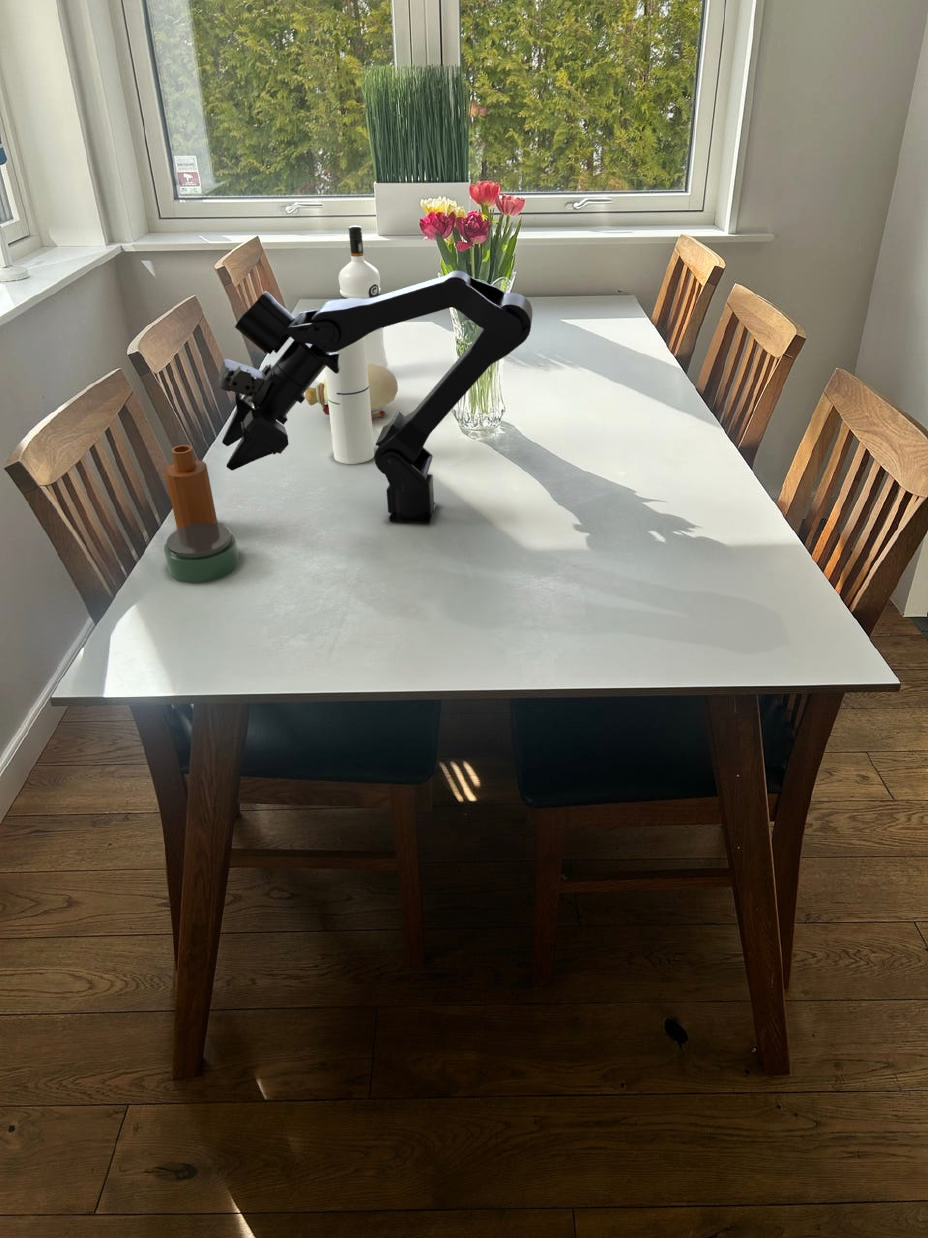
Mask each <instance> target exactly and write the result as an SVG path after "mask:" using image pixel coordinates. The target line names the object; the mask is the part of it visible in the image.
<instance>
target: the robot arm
mask: <svg viewBox="0 0 928 1238" xmlns="http://www.w3.org/2000/svg"><path fill="white" fill-rule="evenodd" d="M451 308H453V309H454V310H457V311H458V312H460V313H461V314H462V315H463V316H465V317H466V318H468V319H469V320H470V321H471V322H473V323H474V324H475V325H476V326H478V327H479V329H478V331H477V333H476V335H475V337H474V339H473V340H472V341H471V343H470V344H469V346H468V347H467V348H466V349H465V350H464V351H463V353H462V354H461V355H460V356H459V357H458V358H457V360H456V361H454V363H453V364H452V365H451V366H450V368H448V371H447V372H446V373H445V374H444V375H443V376H442V377H441V379H440V380H439V381H438V382H437V383H436V384H435V386H434V387H432V388H431V390H430V391H429V392H428V394H426V396H425V397H424V398H423V399H422V400H421V402H420V403H419V404H418V406H417V407H416V408H415V409H414V410H413V411H411V412H409V413H408V414H406V415H404V414H403V413H402V412H401V411H400V410H396V412H395V414H394V416H393V418H392V419H391V421H390V422H389V423H388V424H386V425H384V426H383V427H382V428H381V431H380V433H379V436H378V438H377V440H376V442H375V446H376V450H375V451H374V457H373V459H374V464H375V466H376V468H377V469H378V470H379V472H380V473H382V474H383V475H384V476H385V477H386V480H387V482H388V485H387V488H386V491H385V492H386V500H387V501H386V503H387V512H388V513H389V514H390V515H389V517H388V521H389V522H390V523H404V524H422V525H424V524H425V525H428V524H430V523H431V522H432V519H433V517H434V514H435V511H436V509H437V507H438V505H437V502H435V495H434V494H435V493H434V476H433V473H429V470H430V468H431V463H432V460H433V458H434V456H433V454H432V453H431V452H429V450H427V449H426V448H425V447H424V446H425V444H426V443H427V441H428V438H429V437H430V435H431V434H432V432H433V431H434V430H435V429H436V428H437V427H438V425H440V423H441V422H442V421H443V420H444V419H445V417H446V416H447V415H448V414H449V413H450V412H451V411H452V409H453V408H454V407H455V406H456V405H457V404H458V403H459V401H461V399H463V397H465V395H466V394H467V393H468V391H469V390H470V389H471V388H472V387H473V386H474V385H475V383H477V381H478V380H479V379H480V378H481V377H482V375H483V374H484V373H485V372H486V371H487V370H488V369H489V368H490V367H491V366H492V365H493V364H495V363H497V362H498V361H500V360H502V359H503V358H505V357H507V356H508V355H510V354H511V353H512V352H513V351H515V350H516V349H518V348H519V346H521V345H522V344H523V343H524V342H525V341H526V340H527V339H528V337H529V335H530V333H531V330H532V323H533V322H532V321H533V316H534V315H533V306H532V304H531V302H530V301H529V299H527V297H526V296H524V295H522V294H521V293H519V292H506V291H504V290H502V289H501V288H499V287H497V286H495V285H493V284H490V283H488V282H484V281H482V280H479V279H477V278H475V277H473V276H471V275H469V274H467V273H466V272H464V271H462V270H453V271H450V272H449V273H447V274H446V275H443V276H440V277H435V278H433V279H430V280H426V281H422V282H419V283H416V284H413V285H409V286H407V287H404V288H400V289H397V290H394V291H390V292H387V293H384V294H380V296H377V297H374V298H366V299H361V298H348V299H342V298H340V299H332V300H328V301H326V302H325V303H323V304H322V305H320V307H319V308H317V309H312V310H306V311H300V312H298V313H297V315H296V316H294V315H293V314H292V313H291V312H290V311H288V309H286V308H285V307H284V306H283V305H282V304H280V303H279V302H278V301H277V300H276V299H275V297H274V296H273V295H272V294H271V293H270V292H268V291H267V290H265V291H264V292H262V294H261V295H259V297H258V298H257V299H256V301H255V302H254V303H253V304H252V305H251V306H250V307H249V308H248V309H247V310H246V311H245V312H244V313H243V315H242V316H241V317H240V318H239V319H238V321H237V322H236V324H235V325H234V328H235V329H236V330H237V331H238V332H239V333H241V334H242V335H243V336H244V337H246V338H247V339H248V340H249V341H250V342H251V343H253V344H254V346H256V347H257V348H259V349H260V350H261V351H262V352H263V353H264V354H269V355H271V354H272V353H273V352H274V353H275V354H278V352H279V351H280V350H281V349H282V348H283V347H284V345H285V344H286V343H287V341H288V340H289V339H290V338H291V339H292V340H293V341H292V342H291V343H290V344H289V346H288V347H287V348H286V349H285V351H284V352H283V353H282V354H281V356H280V357H279V358H278V360H277V361H276V362H275V363H274V364H273V365H272V364H271V363H269V364H266V365H265V366H264V367H263V369H262V370H260V369H257V368H255V367H252V366H250V365H247V364H244V363H240V362H238V361H234V360H232V359H227V358H224V359H223V360H222V363H221V368H220V370H219V374H218V377H217V381H218V387H219V388H220V390H222V391H225V392H228V393H229V392H234V393H233V395H234V400H235V407H236V408H235V411H234V412H233V415H232V418H231V420H230V423H229V424H228V427H227V429H226V431H225V432H224V433H225V434H224V436H223V438H222V440H221V443H222V444H223V445H224V446H226V447H230V446H231V445H233V444H234V443H237V442H238V441H239V442H238V444H237V446H236V447H235V448H234V450H233V452H232V454H231V455H230V457H229V460H228V461H227V463H226V468H227V469H228V470H230V471H235V470H237V469H240V468H242V467H245V466H246V465H248V464H250V463H253V462H255V461H257V460H260V459H263V458H265V457H267V456H270V455H276V454H279V455H282V453H283V452H284V451H285V449H286V448H287V447H288V446H289V444H290V443H289V435H288V432H287V429H286V427H285V426H284V425H285V424H286V423H287V422H288V421H289V420H288V417H287V415H288V413H289V412H290V411H291V410H292V409H293V407H294V406H295V405H296V404H297V402H298V403H299V404H302V403H303V402H304V401H305V400H306V398H305V393H306V390H307V389H308V388H309V387H311V385H312V384H313V383H314V382H315V381H316V380H317V378H318V377H319V376H320V374H321V373H322V372H323V371H324V370H325V367H326V366H327V367H328V368H329V369H331V370H332V371H333V372H334V373H336V374H337V373H339V370H340V366H339V355H340V353H339V352H337V351H339V350H341V349H343V348H345V347H347V346H349V345H351V344H353V343H355V342H357V341H358V340H360V339H361V338H363V337H364V336H366V335H368V334H369V333H371V332H373V331H375V330H377V329H380V328H383V327H384V328H386V327H391V326H393V325H396V324H400V323H403V322H406V321H410V320H414V319H416V318H420V317H424V316H427V315H431V314H433V313H437V312H441V311H444V310H447V309H451ZM331 352H335V353H331Z"/></svg>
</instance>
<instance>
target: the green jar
mask: <svg viewBox="0 0 928 1238" xmlns="http://www.w3.org/2000/svg"><path fill="white" fill-rule="evenodd" d="M163 551H164V556H165V561H166V565H167V569H168V572H169V575H170V576H171V577H172V578H173V579H175V580H176V581H179V582H181V583H188V584H202V583H208V582H213V581H216V580H217V581H218V580H220V579H221V578H222V579H223V578H224V577H227V576H229V575H230V574H232V573H233V572H234V571H235V570H236V569H237V568H238V566H239V565H240V556H239V555H240V554H239V550H238V545H237V539H236V535H235V534H234V533H233V532H232V531H231V530H230V529H229V528H228V527H227V526H225V525H222V524H220V523H218V524H214V523H200V524H194V525H189V526H186V527H183V528H181V529H179V530H177V529H176V530H175V531H174V532H172V533H170V535H168V537H167V538H166V542H165V544H164V546H163Z"/></svg>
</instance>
